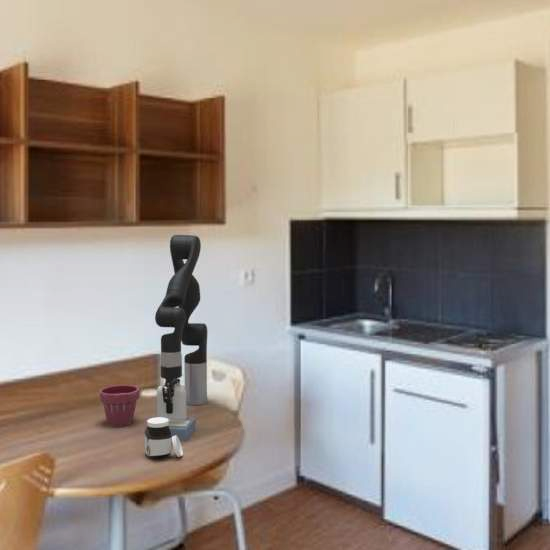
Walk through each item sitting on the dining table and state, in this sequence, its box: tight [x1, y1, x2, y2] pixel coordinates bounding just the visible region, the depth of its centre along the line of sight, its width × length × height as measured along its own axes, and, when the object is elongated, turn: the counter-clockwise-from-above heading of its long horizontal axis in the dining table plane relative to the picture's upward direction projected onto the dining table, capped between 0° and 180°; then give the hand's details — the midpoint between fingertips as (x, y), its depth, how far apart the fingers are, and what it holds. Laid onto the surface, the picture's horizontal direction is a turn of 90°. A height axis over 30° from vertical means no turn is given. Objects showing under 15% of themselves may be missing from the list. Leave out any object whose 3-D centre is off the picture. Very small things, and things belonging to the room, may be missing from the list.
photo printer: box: [156, 384, 187, 420], centre depth 234 cm, size 10×4×12 cm, turn 89°
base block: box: [168, 417, 197, 442], centre depth 235 cm, size 13×14×4 cm
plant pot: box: [99, 384, 140, 427], centre depth 247 cm, size 14×14×13 cm
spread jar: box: [144, 416, 184, 460], centre depth 213 cm, size 12×11×12 cm
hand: (171, 411), depth 234 cm, fingers closed on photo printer, 4 cm apart
